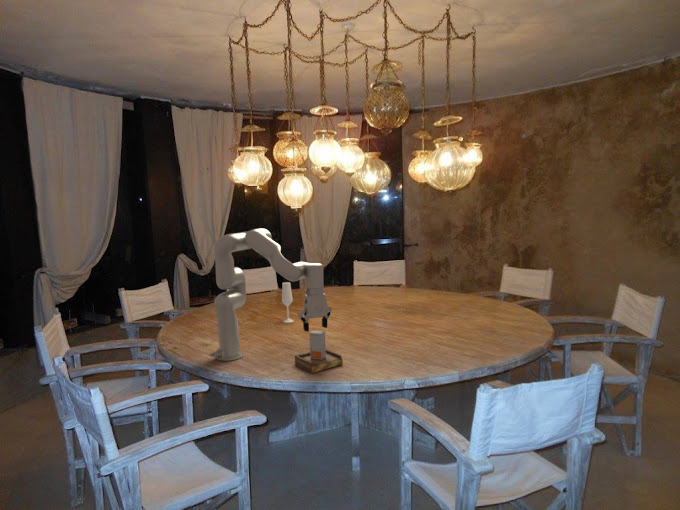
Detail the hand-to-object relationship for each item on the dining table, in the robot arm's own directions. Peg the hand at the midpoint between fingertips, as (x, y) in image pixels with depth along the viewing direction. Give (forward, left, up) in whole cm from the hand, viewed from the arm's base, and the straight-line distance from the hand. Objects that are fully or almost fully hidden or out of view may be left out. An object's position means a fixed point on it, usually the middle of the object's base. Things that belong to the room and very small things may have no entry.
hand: (315, 329), depth 209 cm
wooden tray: (0, -1, -16) cm, 16 cm away
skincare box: (0, 0, -14) cm, 14 cm away
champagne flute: (+29, +77, -17) cm, 84 cm away
